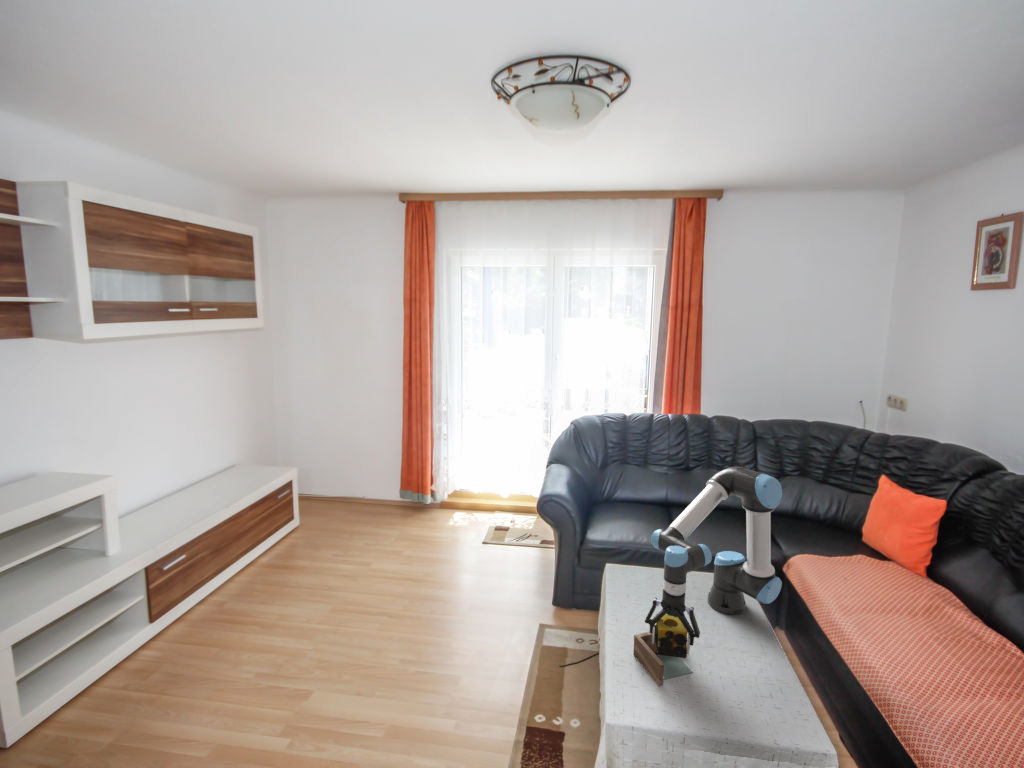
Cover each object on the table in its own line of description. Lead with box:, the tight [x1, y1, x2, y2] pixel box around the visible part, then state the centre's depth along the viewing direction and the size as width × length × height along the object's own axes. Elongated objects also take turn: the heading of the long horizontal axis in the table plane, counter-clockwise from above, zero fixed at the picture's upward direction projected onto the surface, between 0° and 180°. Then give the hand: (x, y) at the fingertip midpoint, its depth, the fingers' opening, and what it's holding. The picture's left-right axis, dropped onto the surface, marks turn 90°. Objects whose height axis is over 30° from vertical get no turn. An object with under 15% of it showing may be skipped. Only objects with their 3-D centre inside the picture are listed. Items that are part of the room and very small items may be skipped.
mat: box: [656, 654, 694, 680], centre depth 183 cm, size 11×11×1 cm
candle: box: [655, 613, 688, 659], centre depth 181 cm, size 10×10×10 cm
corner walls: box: [632, 631, 664, 687], centre depth 183 cm, size 19×16×8 cm
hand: (670, 646), depth 181 cm, fingers closed on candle, 11 cm apart
